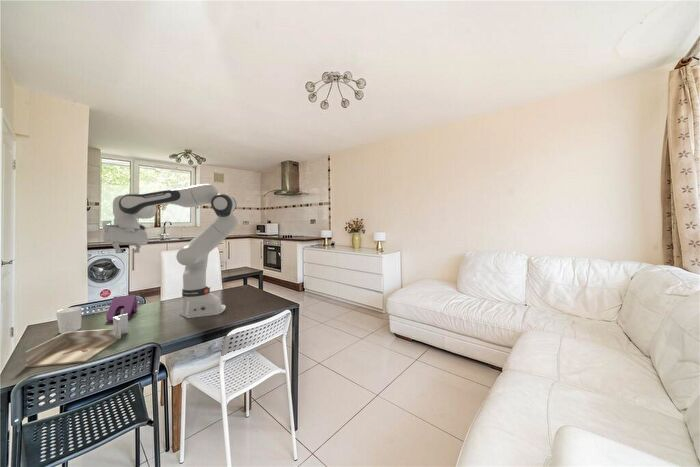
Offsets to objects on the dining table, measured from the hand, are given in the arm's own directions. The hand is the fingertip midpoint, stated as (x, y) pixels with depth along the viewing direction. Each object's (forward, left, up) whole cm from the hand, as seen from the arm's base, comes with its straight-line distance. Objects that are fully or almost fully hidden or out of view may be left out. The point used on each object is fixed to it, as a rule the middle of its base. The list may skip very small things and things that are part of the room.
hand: (128, 252), depth 127 cm
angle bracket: (-7, +18, -36) cm, 41 cm away
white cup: (+20, +8, -36) cm, 42 cm away
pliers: (+22, -21, -36) cm, 48 cm away
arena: (+1, +31, -36) cm, 48 cm away
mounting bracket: (+8, -7, -36) cm, 38 cm away
